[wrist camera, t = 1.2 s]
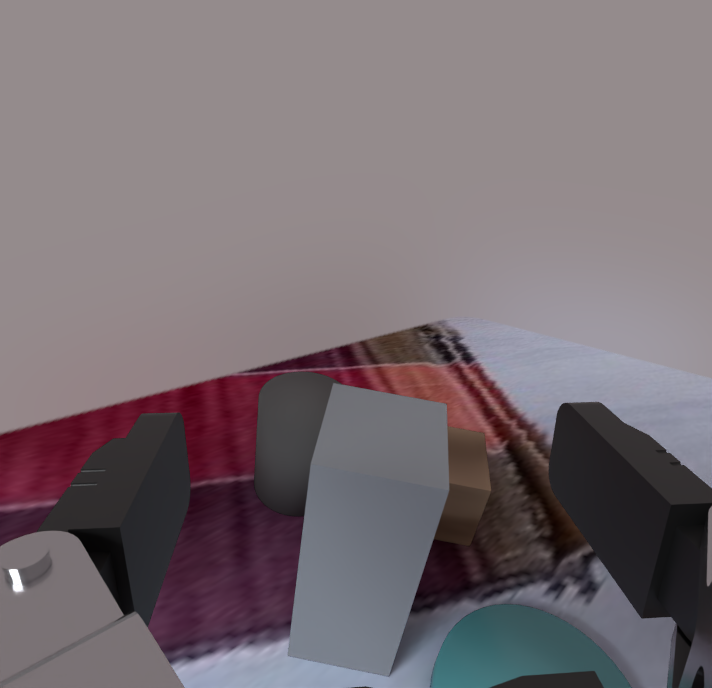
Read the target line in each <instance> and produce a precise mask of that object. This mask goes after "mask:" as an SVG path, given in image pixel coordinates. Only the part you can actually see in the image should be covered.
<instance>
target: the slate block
mask: <svg viewBox="0 0 712 688" xmlns="http://www.w3.org/2000/svg"><path fill="white" fill-rule="evenodd" d="M448 493H449V465H448V432H447V404H444V403H439V402H433V401H428V400H422V399H417V398H412V397H406V396H401V395H395V394H390V393H384V392H379V391H374V390H368V389H363V388H357V387H352V386H347V385H341V384H336V383H333V386H332V390H331V393H330V397H329V401H328V404H327V408H326V411H325V415H324V418H323V422H322V426H321V429H320V433H319V436H318V440H317V443H316V447H315V450H314V454H313V458H312V461H311V466H310V474H309V482H308V491H307V499H306V507H305V516H304V524H303V532H302V540H301V549H300V557H299V565H298V574H297V582H296V590H295V599H294V607H293V615H292V624H291V632H290V640H289V648H288V656H290V657H295V658H300V659H305V660H310V661H315V662H320V663H325V664H329V665H334V666H339V667H344V668H349V669H354V670H359V671H364V672H368V673H373V674H378V675H383V676H388V677H389V675H390V672H391V668H392V665H393V662H394V659H395V656H396V653H397V650H398V647H399V644H400V641H401V638H402V635H403V632H404V628H405V625H406V622H407V619H408V616H409V613H410V610H411V607H412V604H413V601H414V598H415V595H416V591H417V588H418V585H419V582H420V579H421V576H422V573H423V570H424V567H425V564H426V561H427V558H428V554H429V551H430V548H431V545H432V542H433V539H434V536H435V533H436V530H437V527H438V524H439V521H440V517H441V514H442V511H443V508H444V505H445V502H446V499H447V496H448Z"/></svg>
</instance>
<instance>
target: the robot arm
mask: <svg viewBox="0 0 712 688" xmlns="http://www.w3.org/2000/svg"><path fill="white" fill-rule="evenodd" d="M549 480H550V484H551V488H552V490H553V493H554V494H555V496H556V498H557V499H558V500H559V502H560V503H561V505H562V506H563V507H564V509H565V510H566V512H567V513H568V515H569V516H570V517H571V519H572V520H573V522H574V523H575V525H576V526H577V527H578V529H579V530H580V532H581V533H582V534H583V536H584V537H585V539H586V540H587V542H588V543H589V544H590V546H591V547H592V549H593V550H594V552H595V553H596V554H597V556H598V557H599V559H600V560H601V561H602V563H603V564H604V566H605V567H606V569H607V570H608V571H609V573H610V574H611V576H612V577H613V579H614V580H615V581H616V583H617V584H618V586H619V587H620V588H621V590H622V591H623V593H624V594H625V596H626V597H627V598H628V600H629V601H630V603H631V604H632V606H633V607H634V608H635V610H636V611H637V613H638V614H639V615H640V617H641V618H657V617H672V618H673V620H674V621H675V622H676V625H675V629H674V632H673V635H672V640H671V649H670V660H669V671H668V681H667V688H712V488H710V487H709V486H708V485H707V484H706V483H705V482H703V481H702V480H701V479H700V478H699V477H697V476H696V475H695V474H694V473H693V472H692V471H690V470H689V469H688V468H687V467H686V466H685V465H681V464H680V461H679V460H677V459H676V458H675V457H674V456H673V455H672V454H670V453H667V452H666V449H665V448H663V447H662V446H661V445H660V444H659V443H657V442H656V441H655V440H654V439H653V438H652V437H650V436H649V435H647V434H645V433H643V432H641V431H639V430H637V429H635V428H633V427H631V426H629V425H627V424H625V423H624V422H622V421H621V420H620V419H619V418H618V417H617V416H616V415H614V414H613V413H612V412H611V411H610V410H609V409H608V408H606V407H605V406H604V405H603V404H602V403H599V402H581V403H563V404H562V405H561V406H560V408H559V410H558V413H557V418H556V424H555V430H554V437H553V443H552V449H551V455H550V462H549ZM189 499H190V473H189V464H188V455H187V447H186V438H185V429H184V422H183V418H182V415H181V414H180V413H149V414H141V415H140V416H139V418H138V419H137V421H136V423H135V424H134V426H133V427H132V429H131V430H130V432H129V434H128V435H127V437H126V438H115V439H112V440H111V441H109V442H108V443H106V444H105V445H103V446H102V447H101V448H99V449H98V450H96V451H95V452H93V453H92V455H91V456H90V457H89V459H88V460H87V462H86V463H85V464H84V466H83V467H82V469H81V473H78V474H77V476H76V477H75V478H74V480H73V481H72V483H71V487H68V488H67V490H66V491H65V492H64V494H63V495H62V497H61V498H60V499H59V501H58V502H57V504H56V505H55V507H54V508H53V509H52V511H51V512H50V514H49V515H48V516H47V518H46V519H45V521H44V522H43V523H42V525H41V526H40V528H39V529H38V530H37V532H36V533H32V534H28V535H25V536H22V537H19V538H16V539H14V540H12V541H10V542H7V543H5V544H4V545H2V546H0V688H184V686H183V684H182V683H181V681H180V680H179V678H178V676H177V675H176V673H175V672H174V670H173V668H172V667H171V665H170V663H169V662H168V660H167V659H166V657H165V655H164V654H163V652H162V651H161V649H160V647H159V646H158V644H157V642H156V641H155V639H154V638H153V636H152V634H151V633H150V631H149V630H148V625H149V622H150V619H151V616H152V613H153V610H154V607H155V604H156V601H157V598H158V595H159V592H160V589H161V586H162V583H163V580H164V577H165V574H166V572H167V569H168V566H169V563H170V560H171V557H172V554H173V551H174V548H175V545H176V542H177V539H178V536H179V533H180V530H181V527H182V524H183V521H184V518H185V515H186V512H187V509H188V505H189ZM353 688H371V687H353ZM490 688H604V687H603V685H602V683H601V681H600V680H599V678H598V676H597V674H596V672H595V671H584V672H569V673H555V674H540V675H526V676H520V677H517V678H514V679H512V680H509V681H506V682H503V683H501V684H498V685H495V686H492V687H490Z"/></svg>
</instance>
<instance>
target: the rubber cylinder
mask: <svg viewBox="0 0 712 688" xmlns="http://www.w3.org/2000/svg"><path fill="white" fill-rule="evenodd" d="M333 383H336V384H341V383H339V382H338V381H336V380H334V379H332V378H330V377H328V376H325V375H322V374H318V373H312V372H291V373H286V374H282V375H279V376H277V377H274V378H273V379H271V380H269V381H268V382H267V383H266V384H265V385H264V386H263V387H262V389H261V391H260V393H259V400H258V419H257V438H256V456H255V475H254V487H255V491H256V494H257V496H258V497H259V499H260V500H261V501H262V502H263V503H264V504H265V505H266V506H267V507H268V508H270V509H272V510H273V511H276V512H278V513H281V514H284V515H289V516H305V507H306V499H307V491H308V482H309V474H310V466H311V461H312V458H313V454H314V450H315V447H316V443H317V440H318V436H319V433H320V429H321V426H322V422H323V418H324V415H325V411H326V408H327V404H328V401H329V397H330V393H331V390H332V386H333ZM341 385H342V384H341Z"/></svg>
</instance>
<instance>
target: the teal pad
mask: <svg viewBox="0 0 712 688" xmlns="http://www.w3.org/2000/svg"><path fill="white" fill-rule="evenodd" d="M584 671H595V672H596V674H597V676H598V678H599V680H600V681H601V683H602V685H603V687H604V688H632V687H631V686H630V684H629V683H628V681H627V680H626V678H625V677H624V675H623V674H622V673H621V671H620V670H619V669H618V667H617V666H616V665H615V664H614V662H613V661H612V660H611V659H610V658H609V657H608V656H607V655H606V653H605V652H604V651H603V650H602V649H601V648H600V647H599V646H597V645H596V644H595V643H594V642H593V641H592V640H591V639H590V638H588V637H587V636H586V635H585V634H583V633H582V632H581V631H579V630H578V629H577V628H575V627H573V626H572V625H570V624H569V623H567V622H566V621H564V620H562V619H560V618H558V617H556V616H554V615H552V614H549V613H547V612H544V611H542V610H539V609H535V608H532V607H528V606H522V605H513V604H501V605H492V606H488V607H484V608H481V609H479V610H476V611H474V612H472V613H470V614H469V615H467V616H465V617H464V618H463V619H462V620H460V621H459V622H458V623H457V624H456V625H455V626H454V627H453V629H452V630H451V631H450V632H449V634H448V635H447V637H446V639H445V640H444V642H443V645H442V647H441V649H440V652H439V654H438V657H437V659H436V662H435V664H434V668H433V672H432V676H431V684H430V688H490V687H492V686H495V685H498V684H501V683H503V682H506V681H509V680H512V679H514V678H517V677H520V676H526V675H540V674H555V673H569V672H584Z"/></svg>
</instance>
